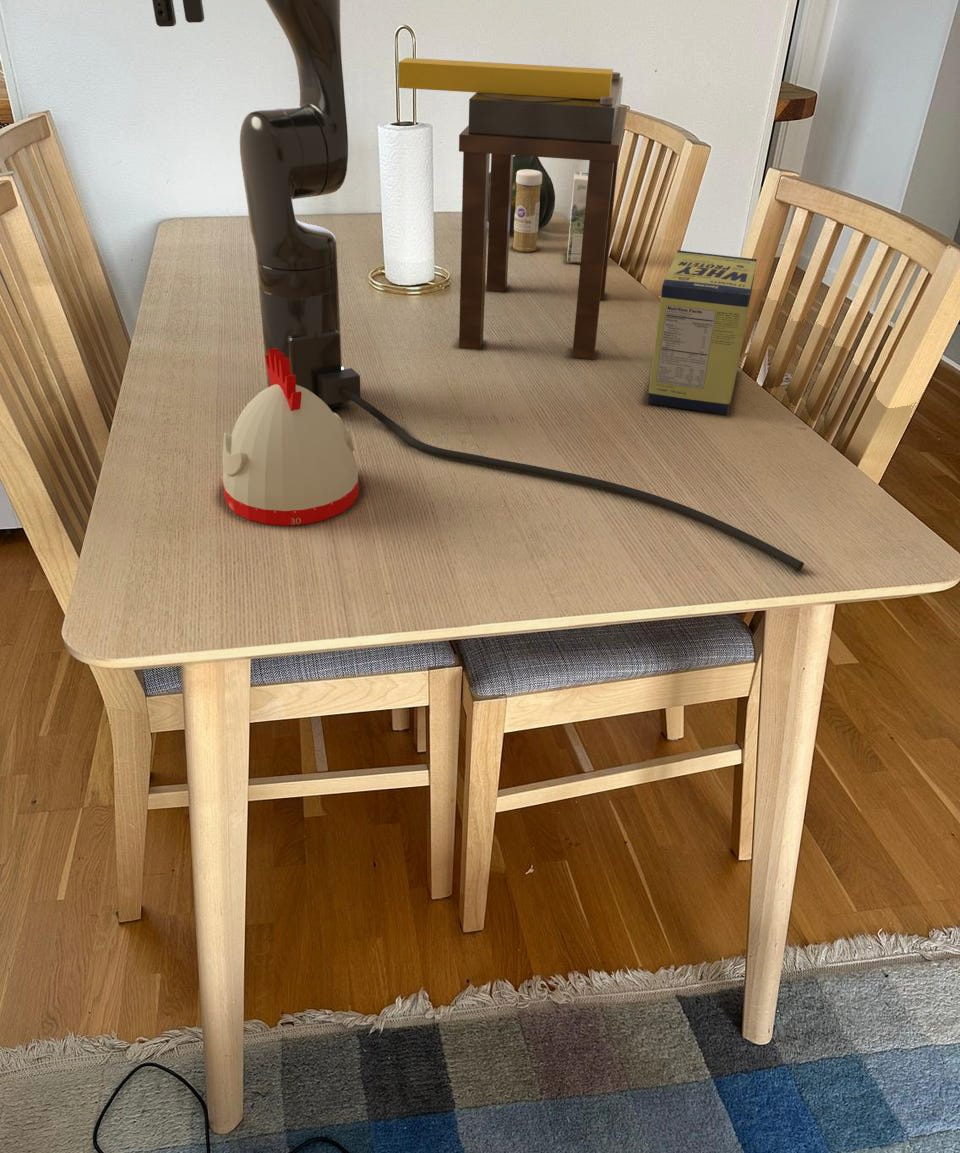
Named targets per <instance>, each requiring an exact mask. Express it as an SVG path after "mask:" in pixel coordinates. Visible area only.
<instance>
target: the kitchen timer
mask: <svg viewBox="0 0 960 1153" xmlns="http://www.w3.org/2000/svg"><path fill="white" fill-rule="evenodd" d="M265 361H266V363H265V367H266V366H267V371H268V376H269V380H270V385H271V386H270V387H268V386H267V387H266V388H264V389H263V390H261V391H260V392H259V393H257V394H256V395H255V396H254V397H253V398H252V399H251V400H250V401H249V402H248V403H247V404H246V405H245V407H244V408H243V410H242V411H241V413H240V415H239V416H238V418H237V420H236V422H235V423H234V427H233V429H232V432H231V433H229V432H223V443H222V446H223V447H222V459H221V460H222V469H223V471H222V484H223V485H222V486H223V494H224V498H225V502H226V506H227V507H228V508H229V509H230V510H231V511H232V512H233V513H235V515H238V516H240V517H242V518H244V519H246V520H248V521H252V522H255V523H260V524H265V525H273V526H297V525H298V526H299V525H308V524H313V523H316V522H323V521H325V520H328V519H330V518H332V517H333V518H334V517H335V516H338V515H340V514H342V513H343V512H344V511H346V510H347V509H349V508H350V507H352V506H353V504H354V503H355V501H356V500H357V498H358V497H359V492H360V491H359V490H360V483H359V480H360V479H359V470H358V464H357V459H356V457H355V454H354V451H355V447H354V443H353V437H352V433H351V431H350V430H348V429H347V428H346V425H345V424H344V421H343V420H342V418H341V417H340V415H339V414H338V413H336V412H334V411H332V409H330V408H329V407H328V406H327V405H326V404H325V403H324V402H323V401H322V400H321V399H320V398H319V397H317V396H316V395H315V394H313V393H312V392H311V391H309V390H307V389H305V388H303V387H301V386H298V385H296V375H295V374H294V375H291V369H290V361H289V358H285V357H284V353H279V352H278V348H273V349H269V355H265V354H264V362H265Z"/></svg>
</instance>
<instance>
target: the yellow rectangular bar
mask: <svg viewBox="0 0 960 1153" xmlns="http://www.w3.org/2000/svg"><path fill="white" fill-rule="evenodd" d="M613 72H614V69H612V68H595V67H577V66H559V65H544V64H543V65H542V64H524V63H523V64H522V63H507V62H505V63H504V62H490V61H489V62H486V61H470V60H452V59H433V58H413V57H405V58H403V59H402V60H400V61H398V89H408V90H409V89H411V90H429V91H430V90H431V91H444V92H460V93H494V94H511V95H528V96H545V97H562V98H579V99H596V100H600V97H601V96H610V95H611V84H612V73H613Z"/></svg>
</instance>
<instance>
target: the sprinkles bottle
mask: <svg viewBox="0 0 960 1153" xmlns="http://www.w3.org/2000/svg"><path fill="white" fill-rule="evenodd" d="M516 183H517V191H516V208H515V218H514V234H513V244H512V248H513V249H514V250H515V251H517V252H524V253H526V252H527V253H529V252H530V253H531V252H534V251H536V250H537V249H538V232H539V229H538V223H539V207H540V187H541V184H542V173H541V172H540V171H537V170H529V169H525V170H519V171H517V174H516Z"/></svg>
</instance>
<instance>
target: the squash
mask: <svg viewBox="0 0 960 1153" xmlns="http://www.w3.org/2000/svg"><path fill="white" fill-rule="evenodd" d="M525 169H529V170H537V171H540V172H541V173H542V184H541V187H540V207H539V223H538V230H540V229H542V228H545V226H547V225H548V223H549V222H550V221H551V220H552V217H553V214H554V211H555V209H556V208H555V207H556V192H555V187H554V183H553V181H552V178H551V177H550V175H549V173H548V172H547V170H546V169H545V167H544V165H543V164H542V162H541V160H540V157H532V156H518V155H513V171H512V191H511V212H510V232H509V234H511V235H514V218H515V208H516V191H517V183H516V174H517V171H519V170H525ZM490 177H491V171H489V191H488V219H487V223H489V204H490Z"/></svg>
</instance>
